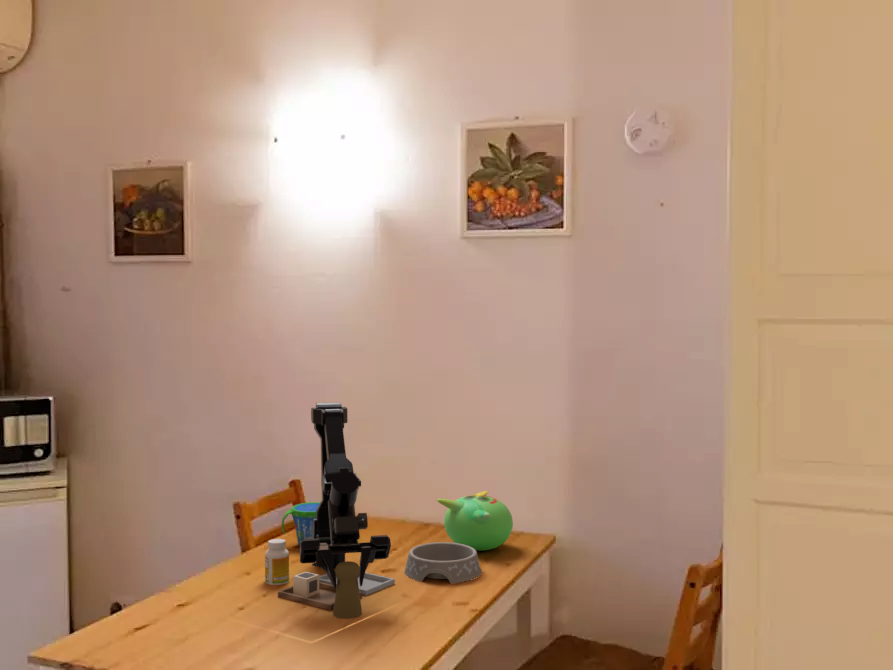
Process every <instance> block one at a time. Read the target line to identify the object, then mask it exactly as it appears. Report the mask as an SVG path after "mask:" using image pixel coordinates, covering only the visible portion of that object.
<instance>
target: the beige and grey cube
mask: <svg viewBox="0 0 893 670" xmlns="http://www.w3.org/2000/svg"><path fill="white" fill-rule="evenodd" d="M319 576H320V574H317V573H314V572H309V571H303V572H301V573H297V574H295V575H293V576H292V579H293V580H292V581H293V582H292V583H293V584H292V586H293V594H295V595H299V596H303V597H306V598H307V597H310V596H312V595H315V594H317V593H319Z"/></svg>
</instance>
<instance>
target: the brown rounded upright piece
mask: <svg viewBox="0 0 893 670" xmlns="http://www.w3.org/2000/svg"><path fill="white" fill-rule="evenodd" d="M334 570H335V575H336V577H337V579H338V580H337V588H336V596H335V603H334V609H333V610H332V611H333V612H332V616H334V617H335V618H338V619H346V620H347V619H355V618H359V617H361V616H362V614H363V610H362V604H361V603H362V601H361V598H360V594H359V586H358V577H359V575H360V564H359V563H357V562H355V561H346V560H345V562H341V563H339V564H337V566H336V568H335V569H334Z"/></svg>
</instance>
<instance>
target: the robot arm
mask: <svg viewBox="0 0 893 670" xmlns="http://www.w3.org/2000/svg"><path fill="white" fill-rule="evenodd" d="M310 419H311V421H310V422H311V423H312V424H313V430H314V431H315V433H316V434H317V436H318V438H319V439H320V464H321V465H320V467H321V468H320V472H321V473H320V474H321V475H320V479H321V482H320V485H321V500H320V504H319V506H318V508H317V509H316V518H313V525H312V539H303V540H302V541H301V543H300V546H299V563H301V564H311V565H312V566H314V567H317V568H321V569H322V570H323V571H324V573H325V574H327V575H328V577H329V579H330V581H331V583H332V584H333V586H334V588H336V575H335V568H336V566H337V564H339V563H341V562H346V554H354V553H356V554H357V553H360V559H359V567H360V575H359V582H360V586H362V584H363V579H364V575H365V572H367V568H368V566H369V564H373V563H374V562H375V560H386V559H387V558H389V556H390V551H391V546H392V543H391V537H389V536H388V535H387V534H380V535H371V536H370V540H369V542H368V541H367V542H359V540H360V534H361V533H360V530H366V529H368V528H369V527H368V525H369V524H368V523H369V520H368V514H367V513H368V512H358V513H357V515H356V507H355V504H356V502H357V496H358V492H359V490H360V488H361V487H362V480H361V479H360V478H359V476H358V475H357V473H356V472H354V466H353V463H352V461H350V459H349V458H347V452H346V445H345V444H346V443H345V437H344V436H345V435H344V428H345V424H348V407H347V406H343V405H342V403H341V402H315V407H311V409H310ZM316 535H318V536H316Z"/></svg>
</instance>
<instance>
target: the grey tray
mask: <svg viewBox="0 0 893 670" xmlns="http://www.w3.org/2000/svg"><path fill="white" fill-rule="evenodd" d="M337 580H338V579H337V577H336V586H337ZM319 582H322V583H326V584H330V585H333V584H332V583H331V581H330V579H329V577H328V575H327V574H326V573H325V574H321V575H319ZM395 583H396V579H395V578H393V577H387V576H383V575H379V574H374V573H370V572H367V571H365V575H364V579H363V584H362V586H360V582H359V577H358V586H359V592H362V596H364V597H365V596H369V595H371V594H374V593H376V592H379V591H381V590H383V589H386V588H388V587H391V586H393V585H395Z"/></svg>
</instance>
